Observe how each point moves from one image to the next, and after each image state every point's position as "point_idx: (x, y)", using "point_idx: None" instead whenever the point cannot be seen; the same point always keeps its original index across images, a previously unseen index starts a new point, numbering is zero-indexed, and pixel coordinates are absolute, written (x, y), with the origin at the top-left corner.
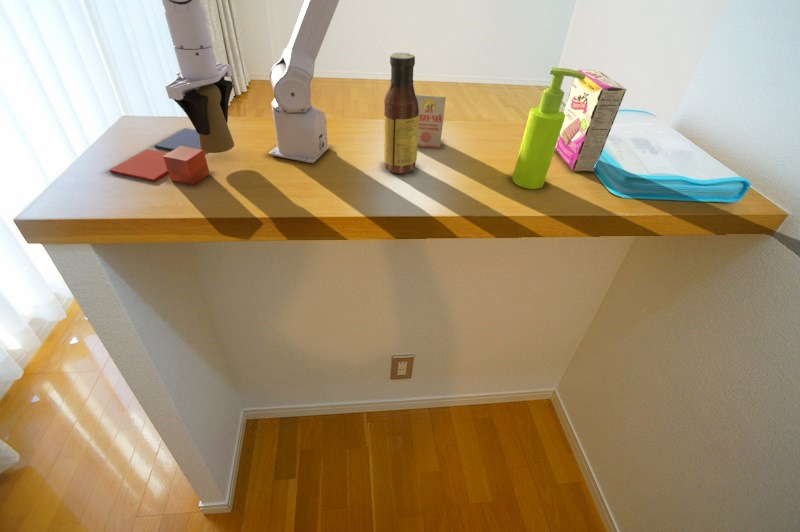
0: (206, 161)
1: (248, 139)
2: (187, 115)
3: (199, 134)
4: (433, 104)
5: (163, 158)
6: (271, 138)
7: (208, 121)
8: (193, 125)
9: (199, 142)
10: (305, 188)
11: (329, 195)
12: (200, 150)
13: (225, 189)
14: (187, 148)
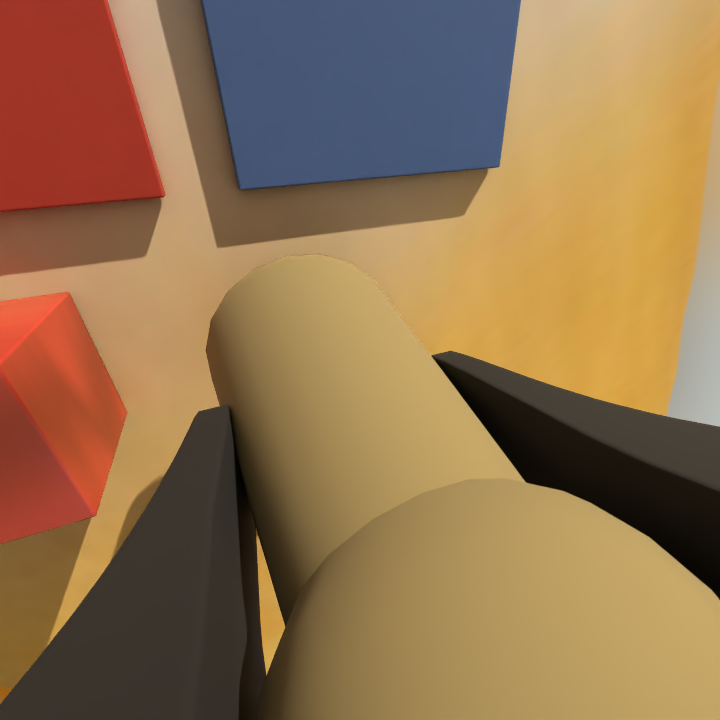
0: (112, 459)
1: (499, 293)
2: (118, 554)
3: (228, 378)
4: None
5: (2, 11)
6: (525, 358)
7: (257, 577)
8: (177, 454)
9: (231, 314)
10: (265, 631)
11: (268, 669)
12: (72, 514)
13: (79, 542)
14: (11, 442)
